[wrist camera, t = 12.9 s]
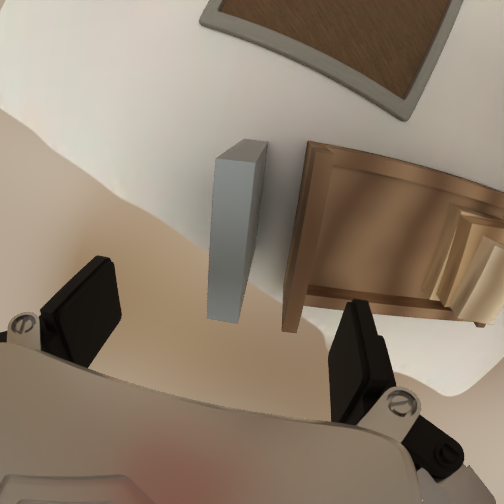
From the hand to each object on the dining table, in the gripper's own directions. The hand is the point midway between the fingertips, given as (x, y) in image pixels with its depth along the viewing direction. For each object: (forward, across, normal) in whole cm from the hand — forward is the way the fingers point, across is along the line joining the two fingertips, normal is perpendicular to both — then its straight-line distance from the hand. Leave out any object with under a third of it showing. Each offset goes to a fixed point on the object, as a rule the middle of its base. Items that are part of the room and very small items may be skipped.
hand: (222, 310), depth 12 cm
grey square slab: (+17, +1, +1) cm, 17 cm away
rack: (+17, -14, +2) cm, 23 cm away
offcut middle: (+14, -20, +2) cm, 25 cm away
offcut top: (+12, -21, +2) cm, 24 cm away
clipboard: (+18, -7, -26) cm, 32 cm away
